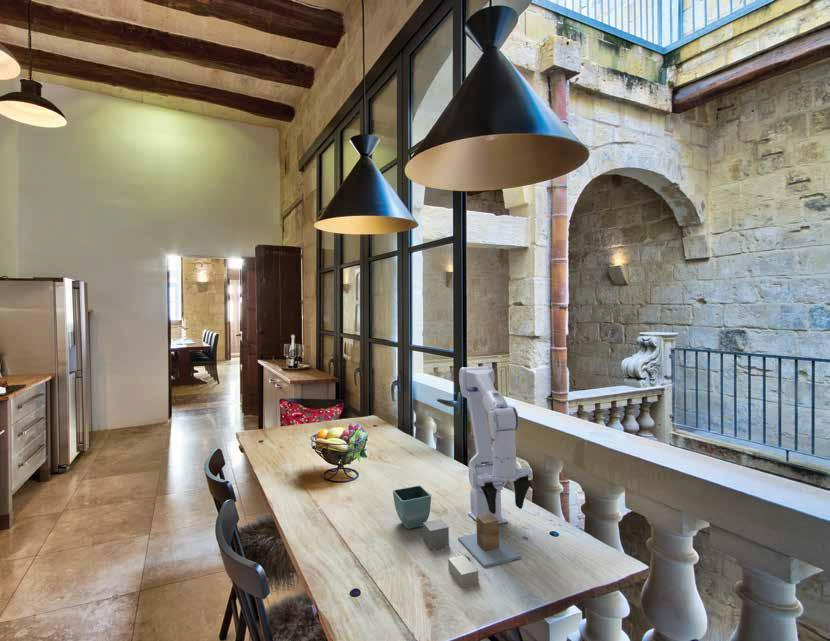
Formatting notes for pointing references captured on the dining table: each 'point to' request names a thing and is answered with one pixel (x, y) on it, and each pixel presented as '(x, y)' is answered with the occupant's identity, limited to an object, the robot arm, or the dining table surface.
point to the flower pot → (412, 505)
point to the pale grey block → (463, 571)
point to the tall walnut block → (487, 532)
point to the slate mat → (492, 556)
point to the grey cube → (436, 534)
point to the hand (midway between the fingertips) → (505, 509)
